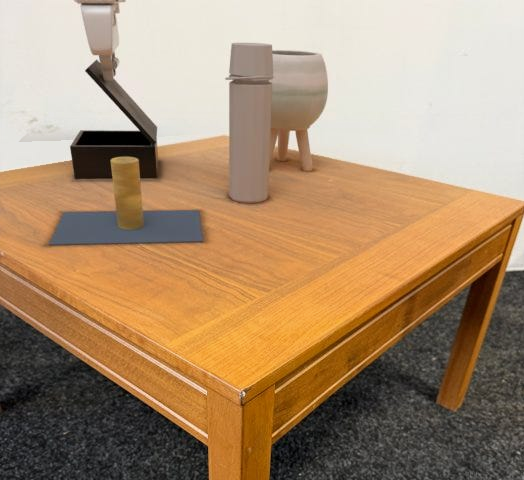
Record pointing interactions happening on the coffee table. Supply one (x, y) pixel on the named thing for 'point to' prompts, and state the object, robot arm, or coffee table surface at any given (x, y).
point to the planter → (296, 100)
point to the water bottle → (249, 121)
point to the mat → (107, 231)
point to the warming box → (111, 153)
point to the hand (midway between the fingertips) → (110, 78)
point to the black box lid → (123, 100)
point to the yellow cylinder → (127, 192)
